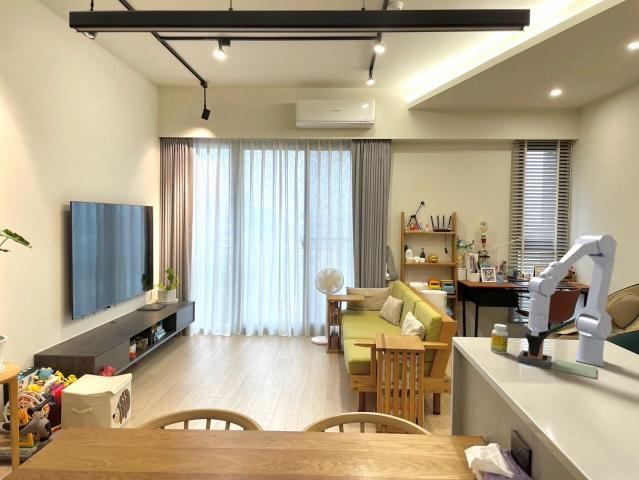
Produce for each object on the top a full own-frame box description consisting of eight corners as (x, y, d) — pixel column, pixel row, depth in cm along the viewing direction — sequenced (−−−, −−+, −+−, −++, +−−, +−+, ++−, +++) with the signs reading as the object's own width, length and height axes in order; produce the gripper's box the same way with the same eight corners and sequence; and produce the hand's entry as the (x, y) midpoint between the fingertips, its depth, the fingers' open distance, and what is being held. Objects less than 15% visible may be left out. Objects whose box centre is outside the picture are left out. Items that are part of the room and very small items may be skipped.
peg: (528, 359, 137) (530, 336, 136) (542, 362, 134) (544, 338, 134) (527, 362, 133) (529, 338, 133) (540, 365, 131) (542, 340, 131)
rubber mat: (554, 359, 137) (554, 358, 137) (596, 369, 131) (596, 367, 131) (550, 368, 128) (550, 367, 128) (596, 379, 121) (596, 377, 121)
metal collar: (521, 355, 140) (522, 350, 140) (551, 362, 135) (551, 356, 135) (517, 361, 133) (518, 355, 133) (548, 368, 127) (549, 362, 127)
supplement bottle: (494, 348, 147) (496, 322, 146) (509, 352, 143) (511, 325, 143) (487, 351, 143) (490, 324, 143) (503, 355, 139) (505, 327, 139)
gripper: (528, 308, 141) (525, 346, 142) (522, 314, 130) (518, 355, 130) (551, 311, 137) (548, 350, 138) (546, 318, 125) (543, 360, 126)
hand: (535, 353), depth 134 cm, fingers open, 7 cm apart
